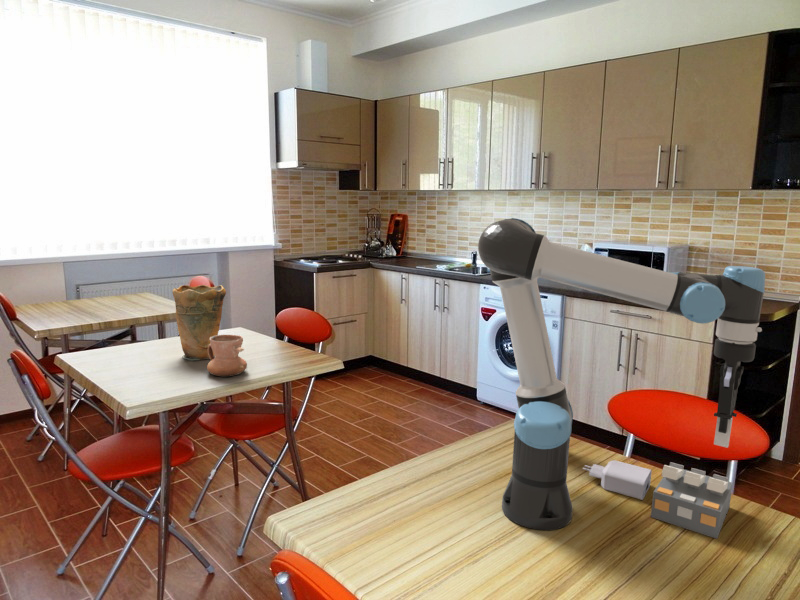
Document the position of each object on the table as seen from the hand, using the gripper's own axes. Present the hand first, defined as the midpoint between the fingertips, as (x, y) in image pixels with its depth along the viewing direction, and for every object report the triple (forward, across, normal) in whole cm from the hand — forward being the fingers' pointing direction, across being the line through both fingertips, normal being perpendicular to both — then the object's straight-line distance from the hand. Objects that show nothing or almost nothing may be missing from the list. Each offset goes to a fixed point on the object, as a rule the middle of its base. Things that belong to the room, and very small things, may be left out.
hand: (721, 444), depth 126 cm
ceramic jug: (+18, -6, +165) cm, 166 cm away
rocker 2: (+8, -3, +4) cm, 9 cm away
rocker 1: (+8, -3, +8) cm, 12 cm away
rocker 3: (+8, -3, -1) cm, 9 cm away
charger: (+17, 0, +21) cm, 27 cm away
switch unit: (+16, -3, +4) cm, 17 cm away
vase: (+18, +2, +192) cm, 193 cm away
